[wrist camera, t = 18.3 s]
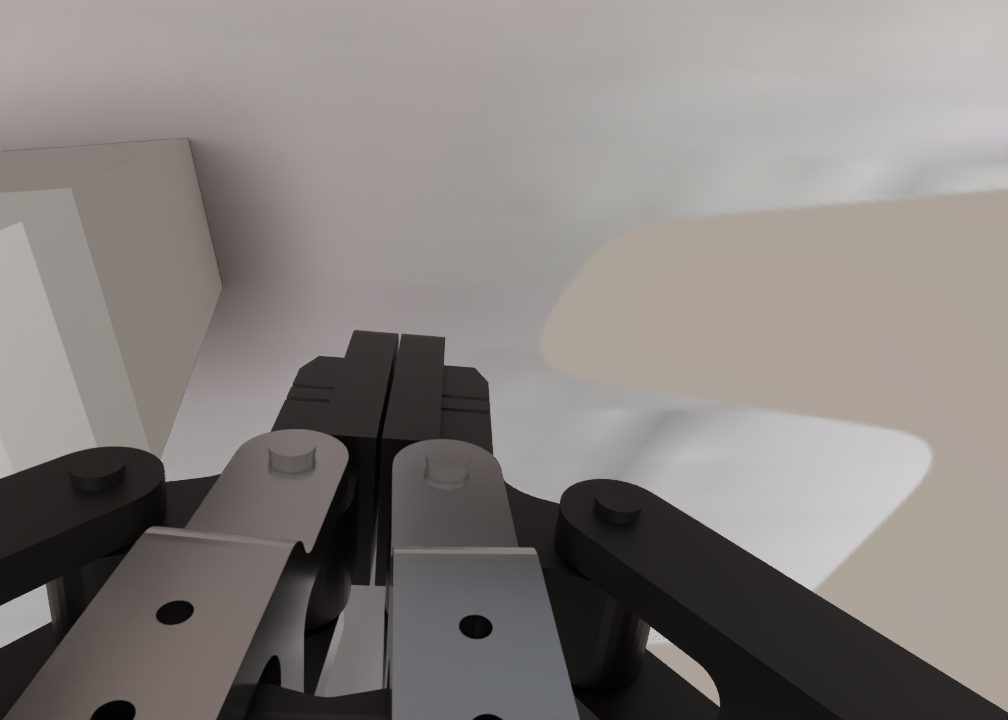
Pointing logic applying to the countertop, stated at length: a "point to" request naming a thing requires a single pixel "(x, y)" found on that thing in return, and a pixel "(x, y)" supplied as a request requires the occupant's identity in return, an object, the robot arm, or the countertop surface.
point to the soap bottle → (99, 296)
